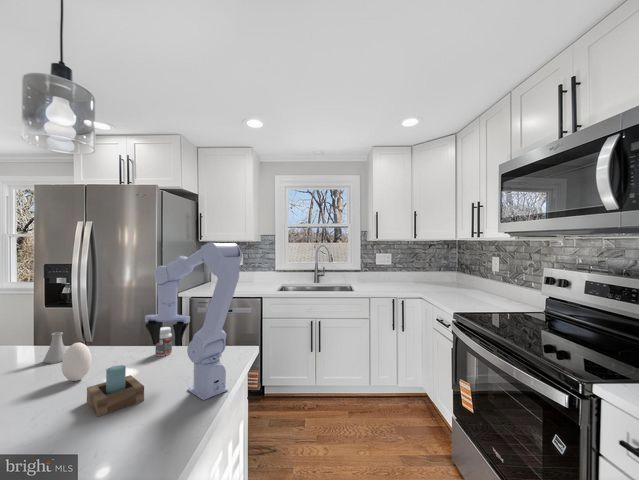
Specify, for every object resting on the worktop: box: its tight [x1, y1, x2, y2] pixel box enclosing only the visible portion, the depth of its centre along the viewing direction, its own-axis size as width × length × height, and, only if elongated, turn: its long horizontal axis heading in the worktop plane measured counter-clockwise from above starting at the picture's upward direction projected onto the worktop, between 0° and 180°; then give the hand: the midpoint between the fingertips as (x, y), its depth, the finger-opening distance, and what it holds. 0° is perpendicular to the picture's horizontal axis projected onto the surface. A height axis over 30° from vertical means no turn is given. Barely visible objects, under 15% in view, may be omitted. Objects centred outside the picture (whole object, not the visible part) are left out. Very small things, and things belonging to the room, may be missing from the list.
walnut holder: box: [86, 374, 145, 418], centre depth 84 cm, size 11×11×4 cm
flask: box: [42, 331, 67, 364], centre depth 113 cm, size 7×7×10 cm
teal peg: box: [105, 364, 127, 395], centre depth 84 cm, size 4×4×9 cm
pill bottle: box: [155, 326, 173, 357], centre depth 120 cm, size 6×6×10 cm
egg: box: [61, 342, 92, 382], centre depth 97 cm, size 7×7×12 cm
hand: (167, 344), depth 100 cm, fingers open, 7 cm apart
